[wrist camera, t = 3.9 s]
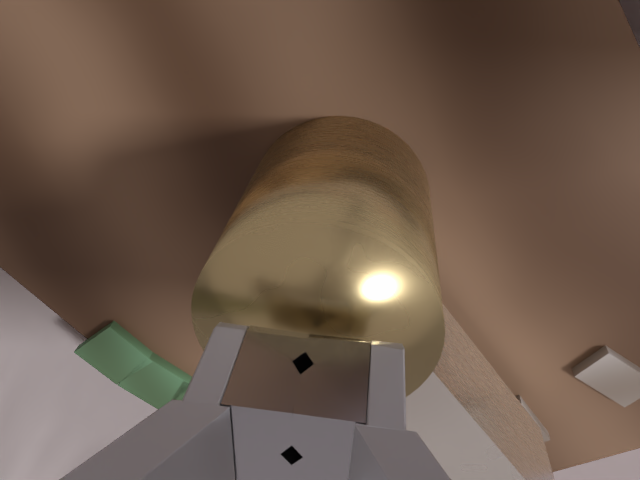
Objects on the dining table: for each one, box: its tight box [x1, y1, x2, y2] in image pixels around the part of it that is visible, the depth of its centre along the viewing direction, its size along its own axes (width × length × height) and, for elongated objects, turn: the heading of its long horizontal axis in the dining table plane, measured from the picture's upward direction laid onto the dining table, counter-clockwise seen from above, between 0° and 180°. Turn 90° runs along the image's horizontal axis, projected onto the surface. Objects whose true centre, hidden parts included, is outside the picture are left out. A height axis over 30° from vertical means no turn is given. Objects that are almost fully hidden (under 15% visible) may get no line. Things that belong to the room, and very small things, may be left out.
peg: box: [191, 116, 555, 480], centre depth 12 cm, size 11×4×5 cm, turn 38°
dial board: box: [0, 0, 640, 472], centre depth 14 cm, size 18×25×2 cm
